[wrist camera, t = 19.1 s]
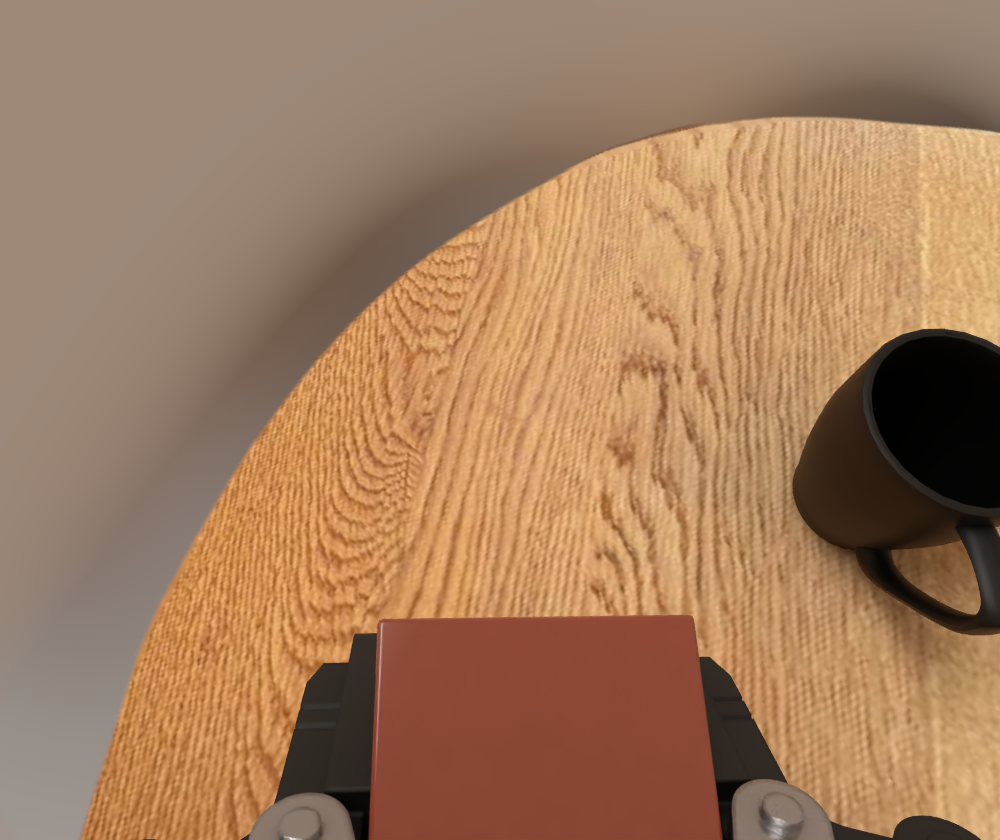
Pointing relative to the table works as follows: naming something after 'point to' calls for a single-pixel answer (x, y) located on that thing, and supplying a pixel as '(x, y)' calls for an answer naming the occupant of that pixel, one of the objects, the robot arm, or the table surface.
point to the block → (541, 730)
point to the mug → (913, 466)
